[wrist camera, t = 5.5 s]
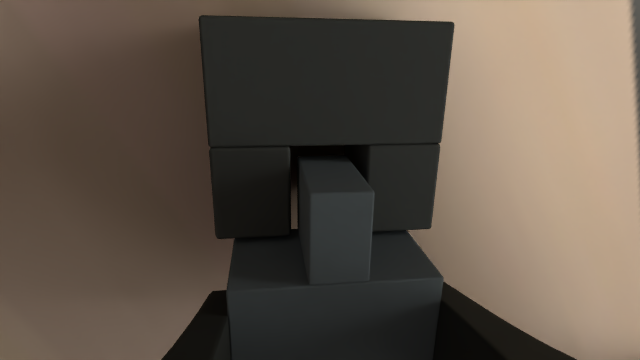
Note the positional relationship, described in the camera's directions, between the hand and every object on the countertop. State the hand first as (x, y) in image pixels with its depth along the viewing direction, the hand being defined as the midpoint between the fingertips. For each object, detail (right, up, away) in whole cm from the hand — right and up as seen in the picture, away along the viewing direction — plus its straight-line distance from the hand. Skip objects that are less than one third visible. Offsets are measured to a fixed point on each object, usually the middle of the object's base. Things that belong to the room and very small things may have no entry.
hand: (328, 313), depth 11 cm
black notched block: (0, +6, +2) cm, 6 cm away
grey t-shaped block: (0, +2, +1) cm, 2 cm away
